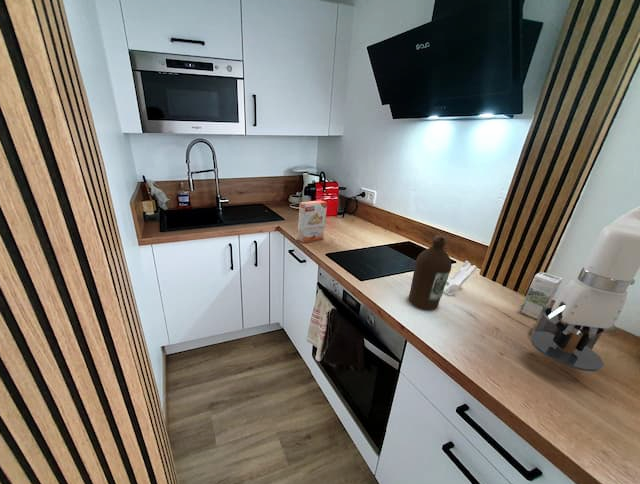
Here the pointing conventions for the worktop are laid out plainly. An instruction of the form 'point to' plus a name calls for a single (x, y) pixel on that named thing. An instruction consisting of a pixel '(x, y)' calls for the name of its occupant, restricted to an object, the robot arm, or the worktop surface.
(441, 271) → the brown bottle
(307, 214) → the cracker box
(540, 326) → the tin
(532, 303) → the syrup box
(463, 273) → the plastic part
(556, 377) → the worktop surface
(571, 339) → the tin lid
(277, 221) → the worktop surface
